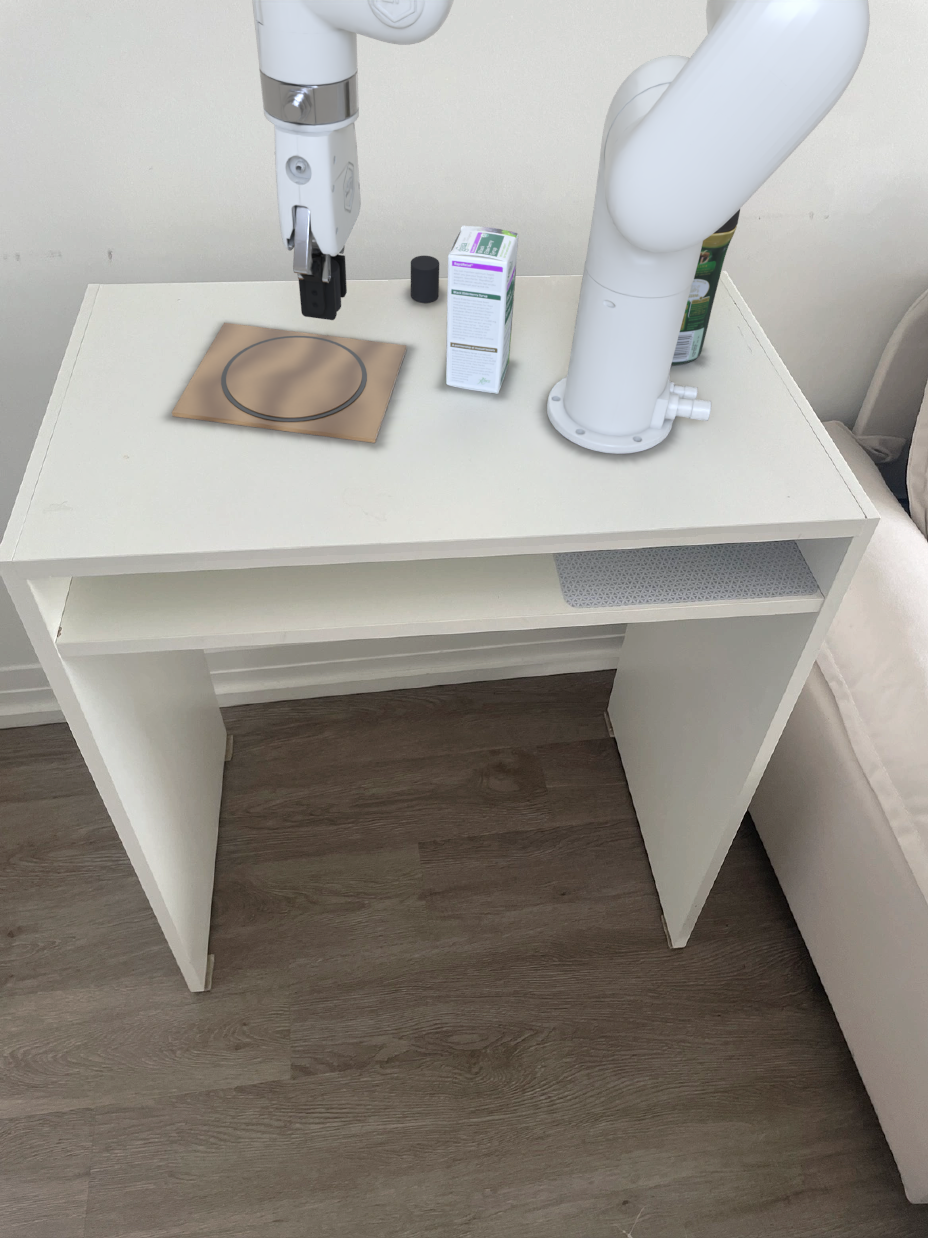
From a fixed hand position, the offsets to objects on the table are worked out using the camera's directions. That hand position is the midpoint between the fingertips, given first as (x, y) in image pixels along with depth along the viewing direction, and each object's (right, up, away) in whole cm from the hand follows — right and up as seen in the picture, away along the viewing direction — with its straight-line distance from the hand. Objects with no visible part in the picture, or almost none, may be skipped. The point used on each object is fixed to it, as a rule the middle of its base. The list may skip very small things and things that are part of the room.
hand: (324, 303), depth 85 cm
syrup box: (+14, -4, +9) cm, 18 cm away
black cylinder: (+9, +7, +19) cm, 22 cm away
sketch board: (-4, -5, +7) cm, 10 cm away
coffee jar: (+35, 0, +15) cm, 38 cm away
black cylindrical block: (0, 0, 0) cm, 0 cm away
